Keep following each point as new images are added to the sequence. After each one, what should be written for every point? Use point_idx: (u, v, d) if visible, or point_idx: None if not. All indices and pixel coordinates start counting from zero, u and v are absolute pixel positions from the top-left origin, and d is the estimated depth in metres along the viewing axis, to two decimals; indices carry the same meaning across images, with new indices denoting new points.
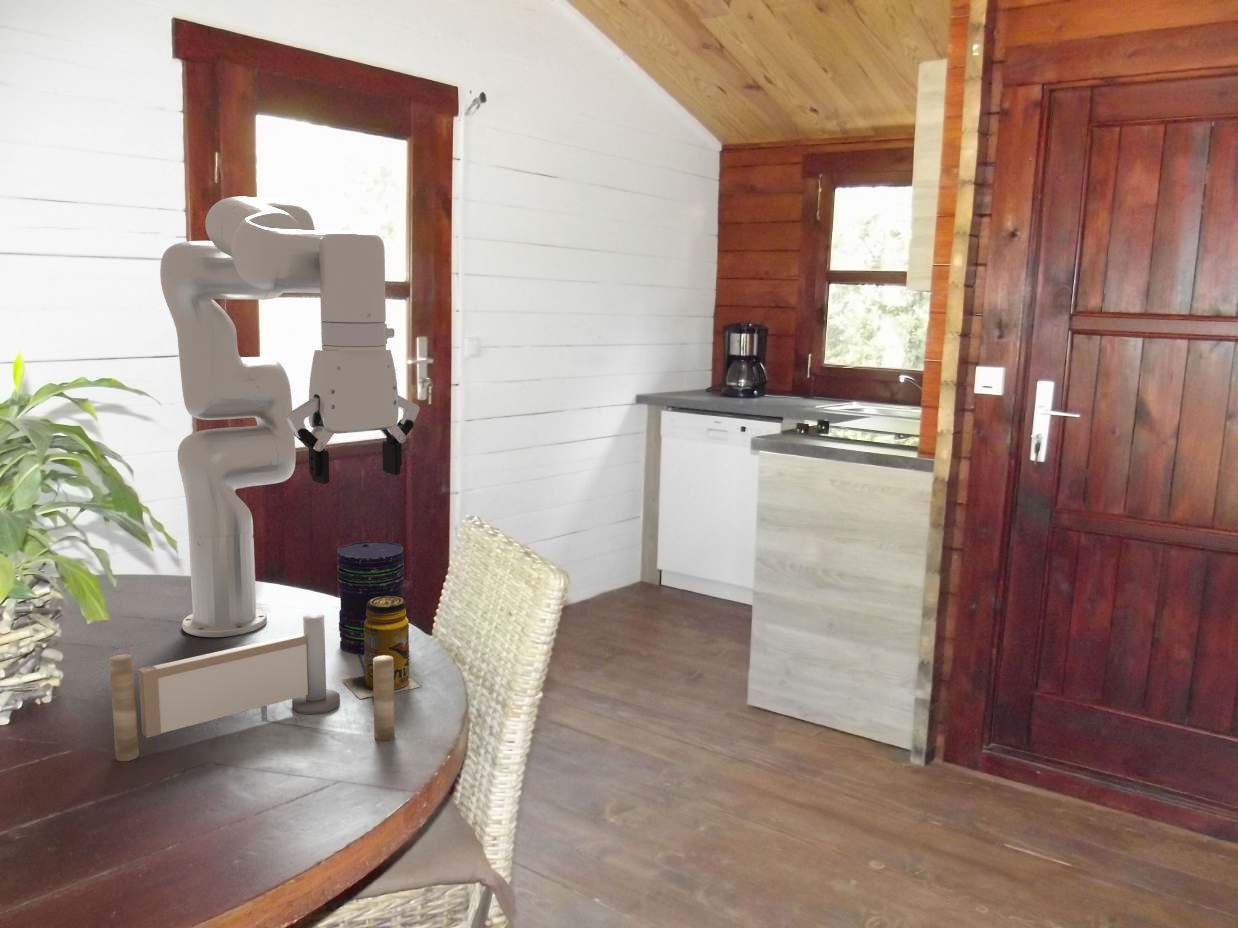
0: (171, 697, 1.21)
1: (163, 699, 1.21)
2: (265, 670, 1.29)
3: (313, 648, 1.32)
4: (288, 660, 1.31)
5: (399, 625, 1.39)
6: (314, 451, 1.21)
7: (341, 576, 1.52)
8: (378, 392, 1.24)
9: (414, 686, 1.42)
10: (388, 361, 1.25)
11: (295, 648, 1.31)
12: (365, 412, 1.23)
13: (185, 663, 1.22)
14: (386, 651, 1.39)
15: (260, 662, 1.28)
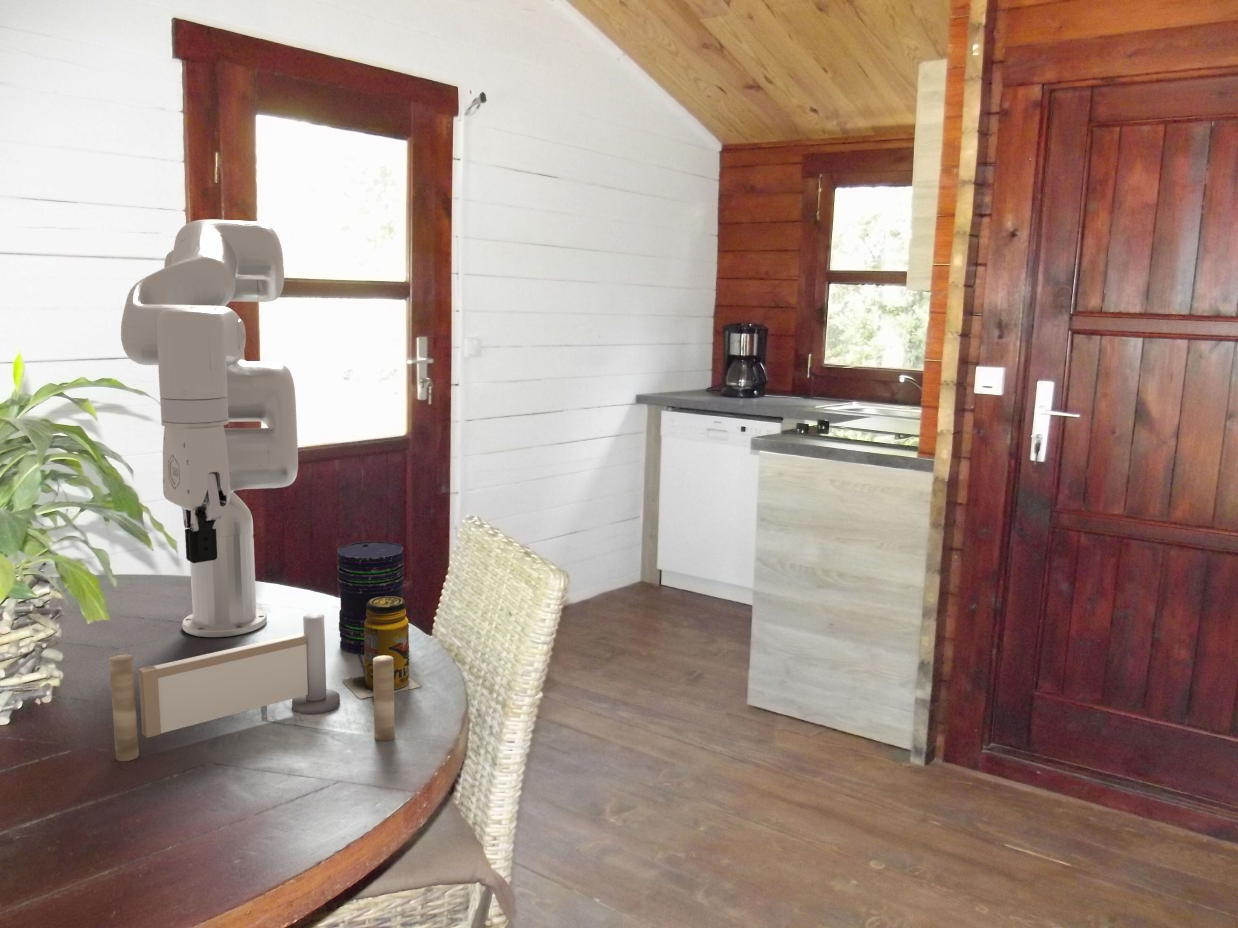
0: (171, 697, 1.21)
1: (163, 699, 1.21)
2: (265, 670, 1.29)
3: (313, 648, 1.32)
4: (288, 660, 1.31)
5: (399, 625, 1.39)
6: (210, 530, 1.25)
7: (341, 576, 1.52)
8: None
9: (414, 686, 1.42)
10: None
11: (295, 648, 1.31)
12: None
13: (185, 663, 1.22)
14: (386, 651, 1.39)
15: (260, 662, 1.28)
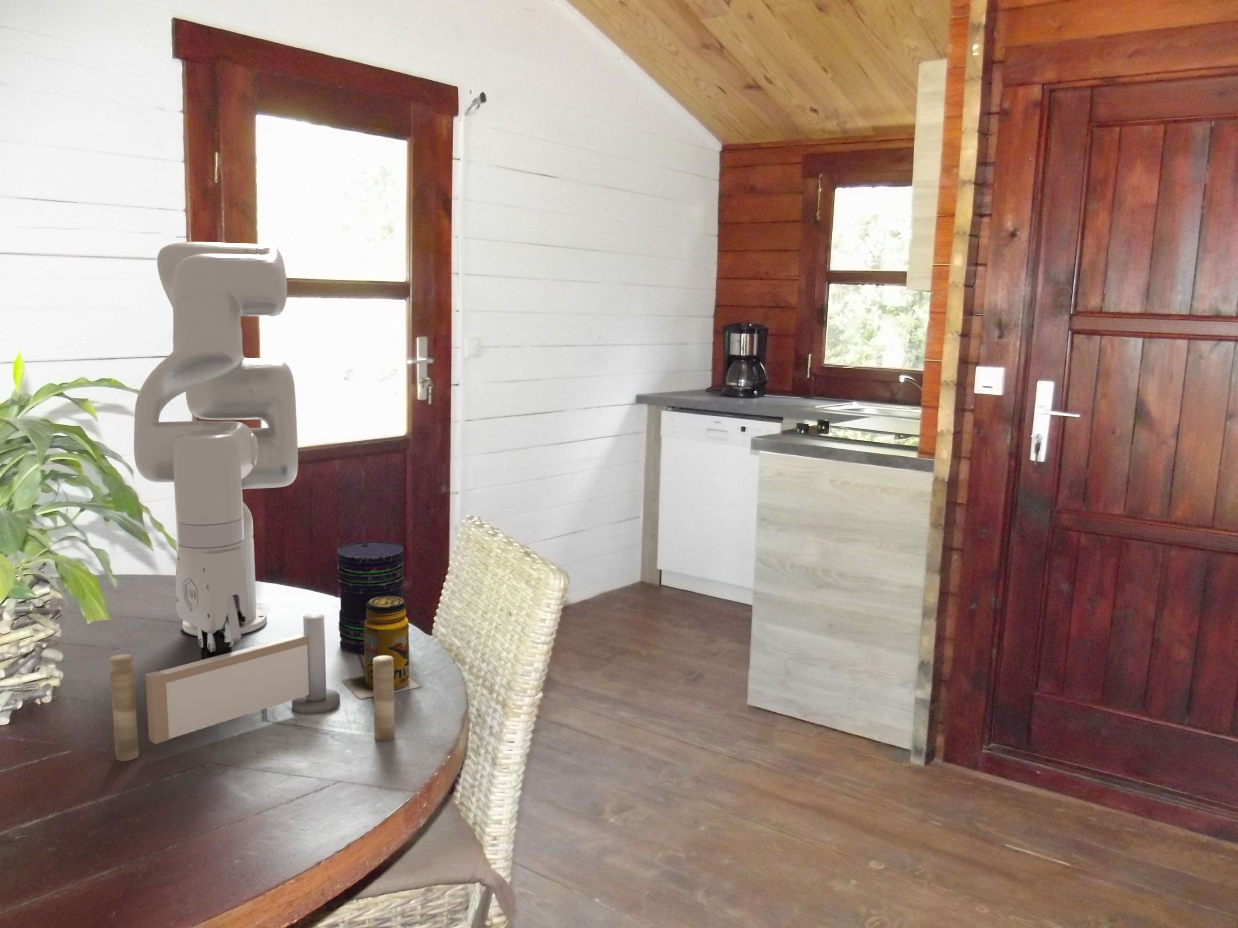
0: (178, 702, 1.20)
1: (171, 705, 1.19)
2: (268, 672, 1.28)
3: (314, 648, 1.32)
4: (290, 661, 1.30)
5: (399, 625, 1.39)
6: (226, 649, 1.26)
7: (341, 576, 1.52)
8: None
9: (414, 686, 1.42)
10: None
11: (297, 649, 1.31)
12: None
13: (192, 667, 1.20)
14: (386, 651, 1.39)
15: (264, 664, 1.28)
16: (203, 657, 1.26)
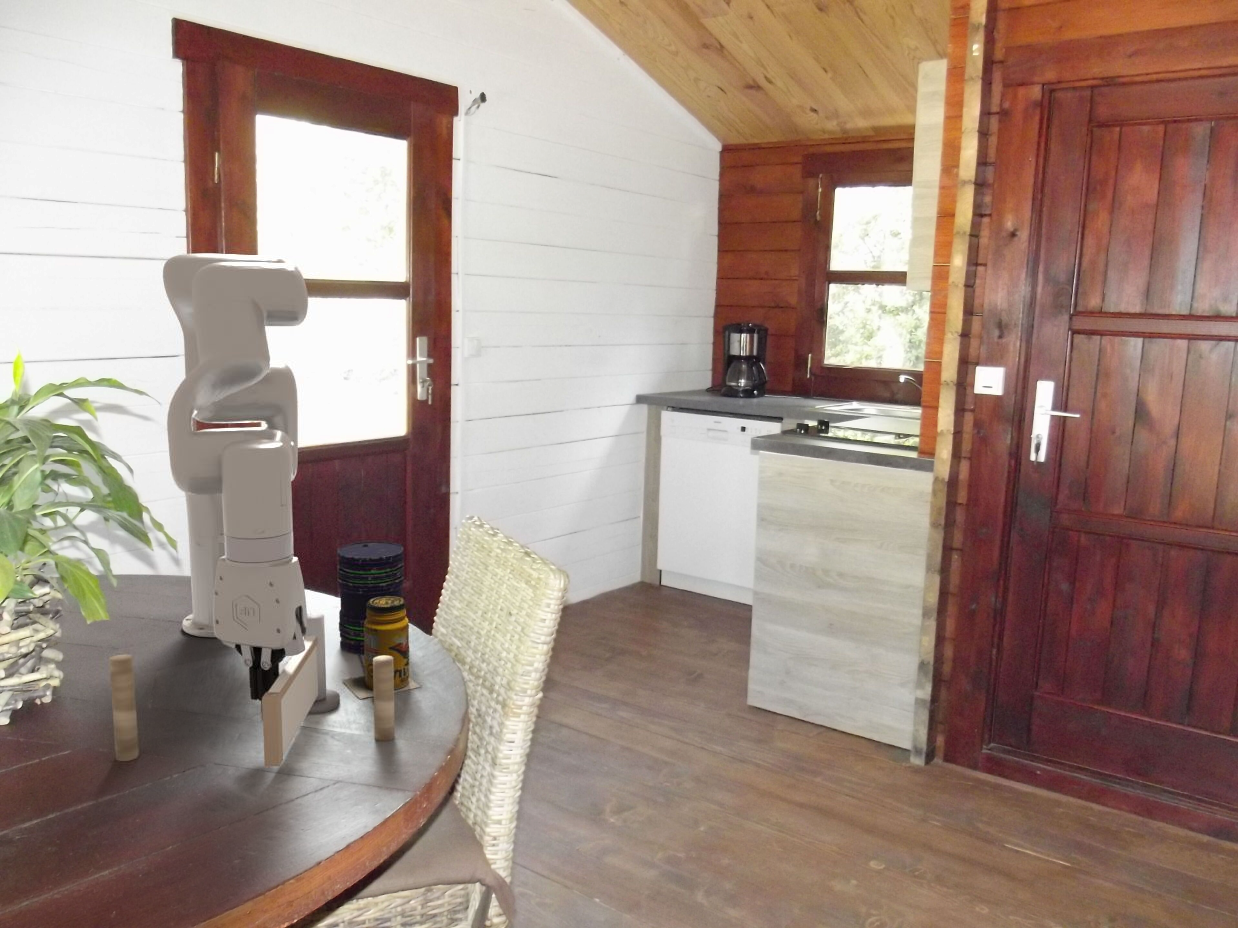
0: (283, 719, 1.16)
1: (281, 723, 1.15)
2: (307, 676, 1.27)
3: (322, 646, 1.33)
4: (312, 663, 1.30)
5: (399, 625, 1.39)
6: (277, 664, 1.22)
7: (341, 576, 1.52)
8: None
9: (414, 686, 1.42)
10: None
11: (314, 650, 1.31)
12: None
13: (286, 681, 1.17)
14: (386, 651, 1.39)
15: (305, 669, 1.26)
16: (254, 677, 1.20)
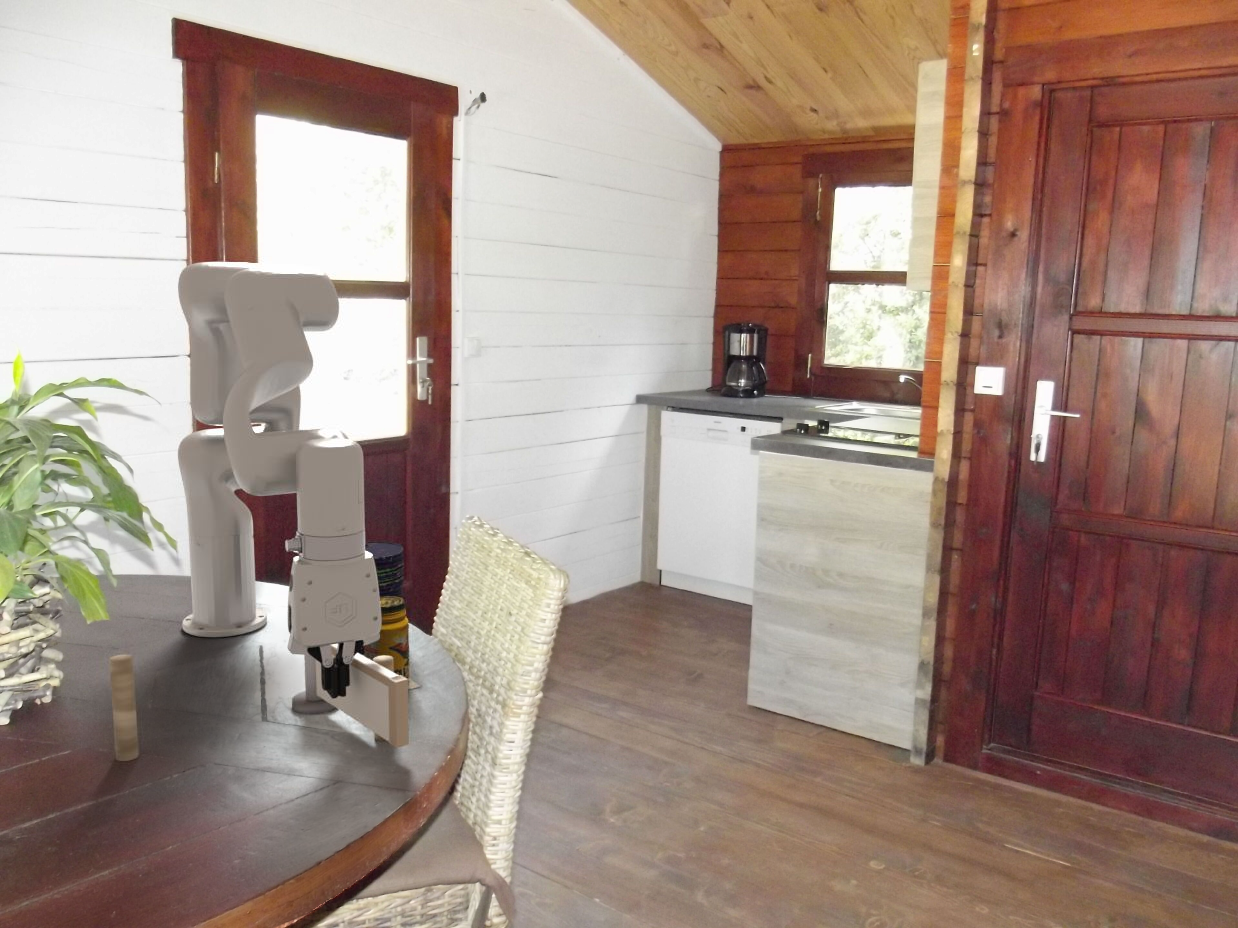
0: None
1: None
2: None
3: None
4: None
5: (399, 625, 1.39)
6: None
7: None
8: None
9: (414, 686, 1.42)
10: None
11: None
12: None
13: (384, 668, 1.22)
14: (386, 651, 1.39)
15: None
16: (336, 675, 1.21)
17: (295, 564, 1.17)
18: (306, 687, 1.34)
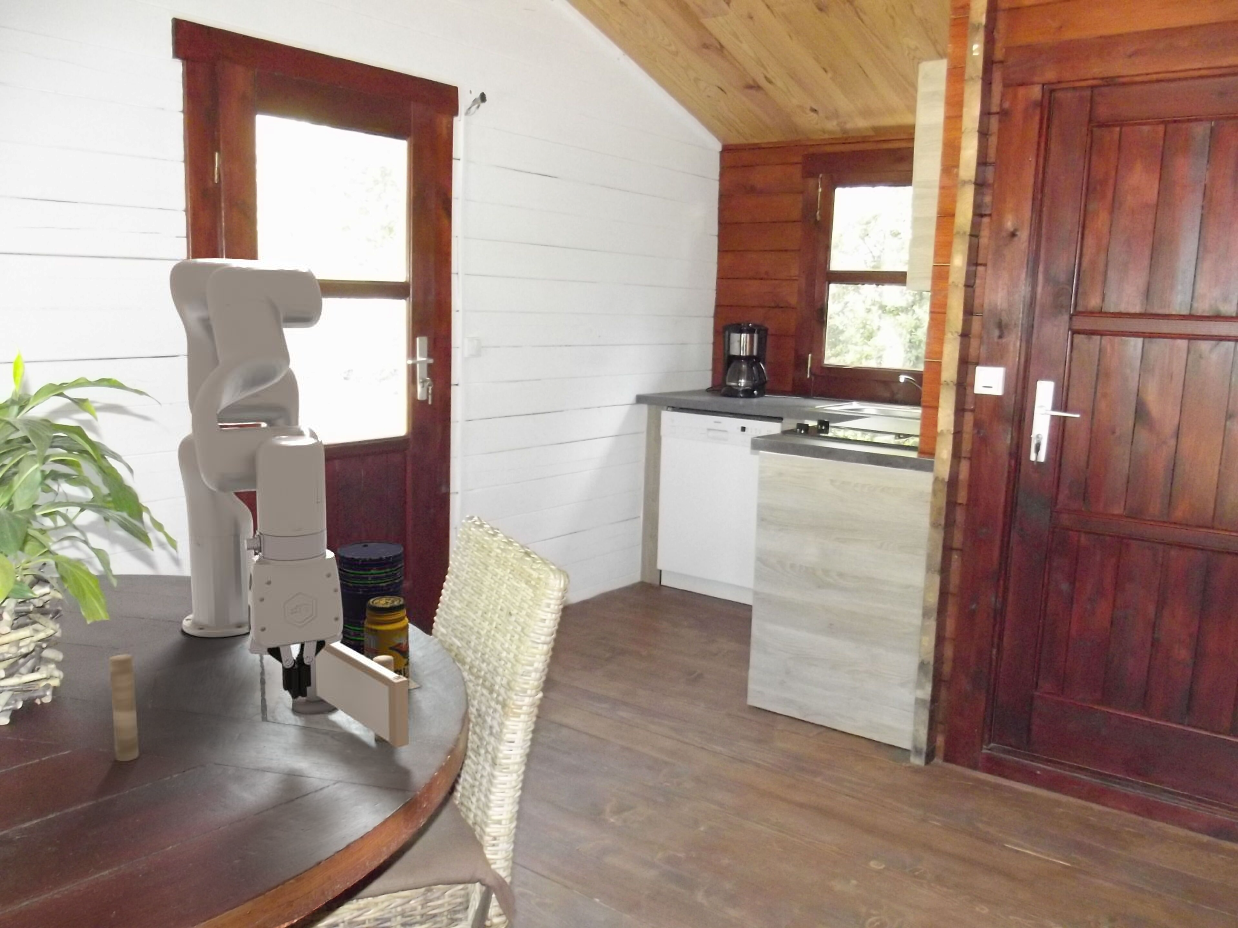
0: None
1: None
2: None
3: None
4: None
5: (399, 625, 1.39)
6: None
7: (341, 576, 1.52)
8: None
9: (414, 686, 1.42)
10: None
11: None
12: None
13: (384, 668, 1.22)
14: (386, 651, 1.39)
15: None
16: (297, 675, 1.20)
17: (254, 563, 1.16)
18: None
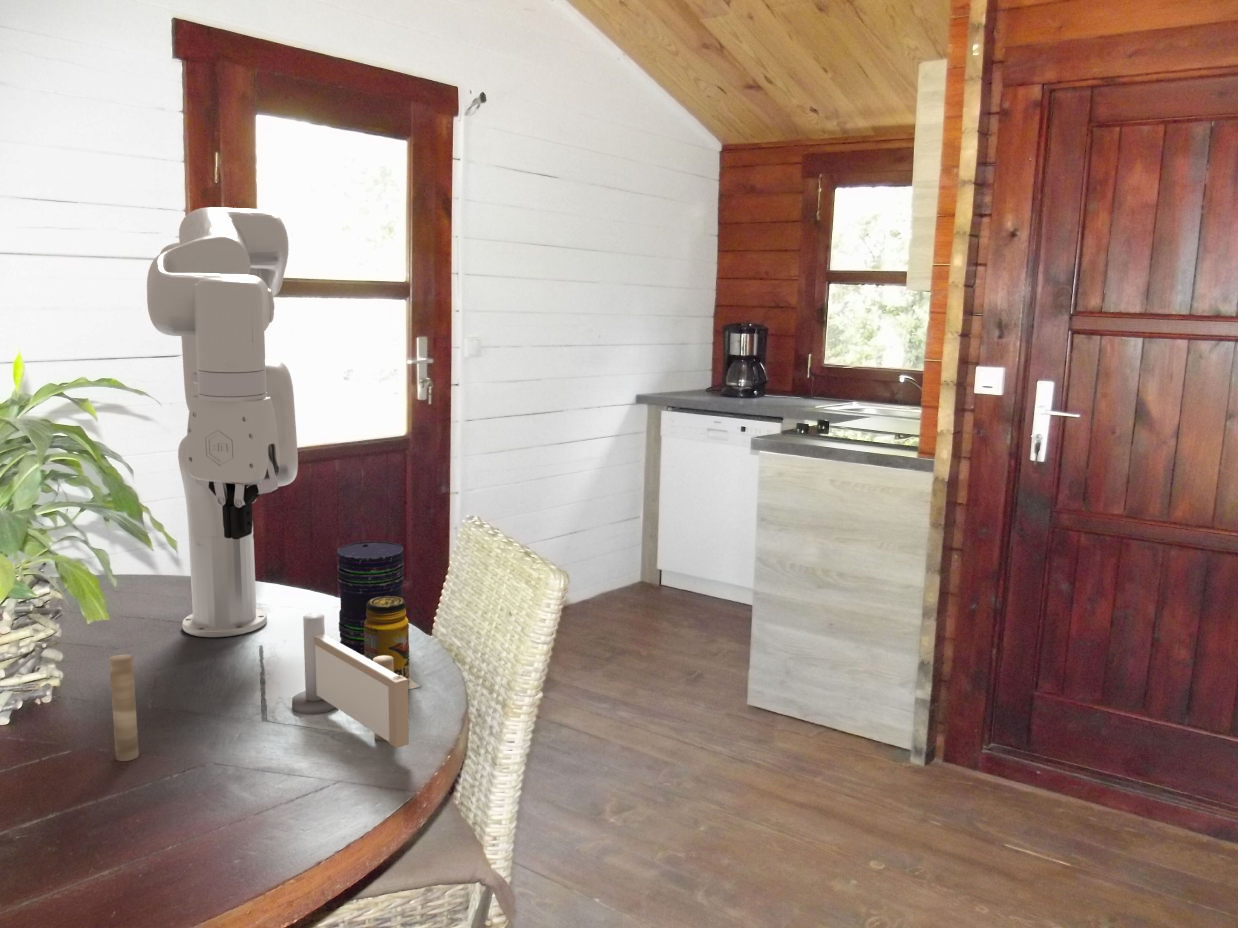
0: None
1: None
2: None
3: None
4: None
5: (399, 625, 1.39)
6: (250, 504, 1.24)
7: (341, 576, 1.52)
8: None
9: (414, 686, 1.42)
10: None
11: None
12: None
13: (384, 668, 1.22)
14: (386, 651, 1.39)
15: None
16: (227, 515, 1.22)
17: (195, 396, 1.21)
18: (306, 687, 1.34)
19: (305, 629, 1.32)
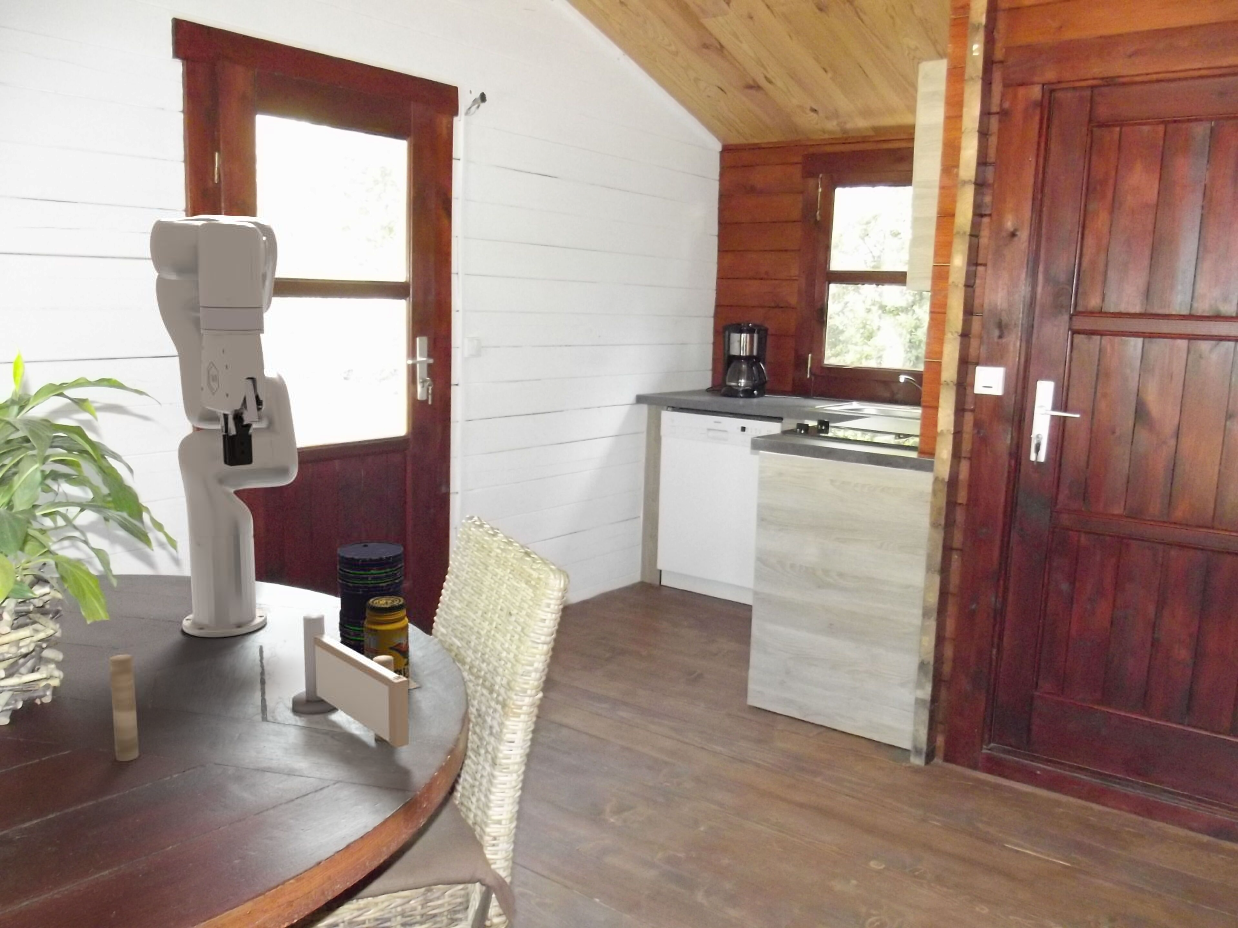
0: None
1: None
2: None
3: None
4: None
5: (399, 625, 1.39)
6: (246, 435, 1.32)
7: (341, 576, 1.52)
8: None
9: (414, 686, 1.42)
10: None
11: None
12: None
13: (384, 668, 1.22)
14: (386, 651, 1.39)
15: None
16: (224, 443, 1.32)
17: None
18: (306, 687, 1.34)
19: (305, 629, 1.32)
